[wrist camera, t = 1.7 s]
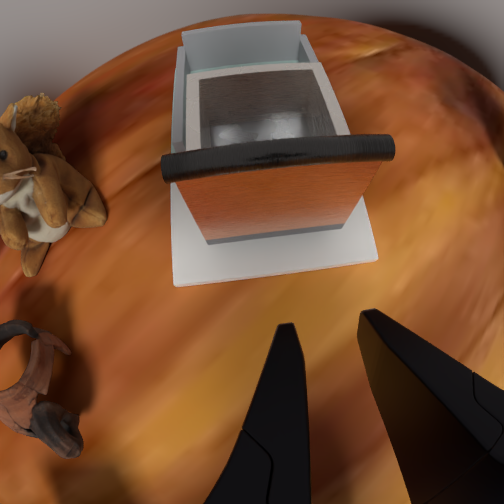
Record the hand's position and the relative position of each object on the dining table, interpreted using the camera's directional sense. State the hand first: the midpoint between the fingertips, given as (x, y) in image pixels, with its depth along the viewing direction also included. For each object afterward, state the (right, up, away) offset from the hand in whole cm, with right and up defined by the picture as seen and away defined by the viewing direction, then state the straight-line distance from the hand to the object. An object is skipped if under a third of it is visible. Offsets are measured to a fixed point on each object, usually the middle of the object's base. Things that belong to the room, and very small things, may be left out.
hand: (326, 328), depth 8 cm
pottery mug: (-19, -10, +12) cm, 24 cm away
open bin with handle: (-1, +7, +15) cm, 17 cm away
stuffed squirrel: (-21, +7, +17) cm, 28 cm away
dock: (-1, +11, +18) cm, 21 cm away
